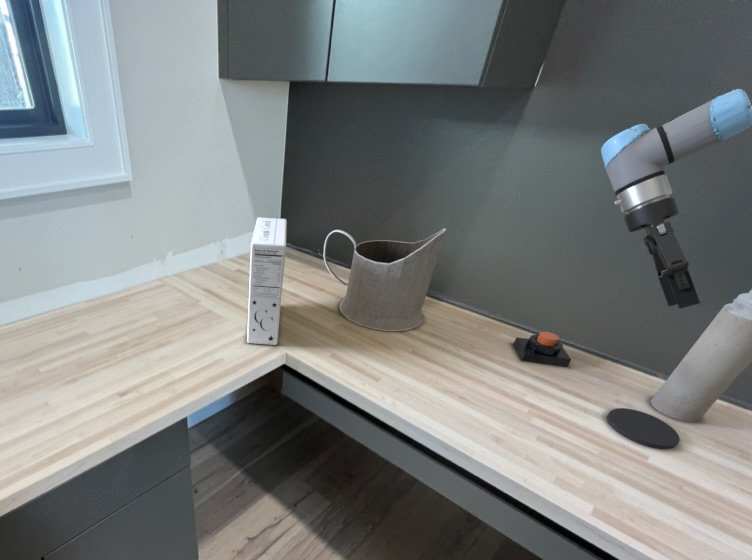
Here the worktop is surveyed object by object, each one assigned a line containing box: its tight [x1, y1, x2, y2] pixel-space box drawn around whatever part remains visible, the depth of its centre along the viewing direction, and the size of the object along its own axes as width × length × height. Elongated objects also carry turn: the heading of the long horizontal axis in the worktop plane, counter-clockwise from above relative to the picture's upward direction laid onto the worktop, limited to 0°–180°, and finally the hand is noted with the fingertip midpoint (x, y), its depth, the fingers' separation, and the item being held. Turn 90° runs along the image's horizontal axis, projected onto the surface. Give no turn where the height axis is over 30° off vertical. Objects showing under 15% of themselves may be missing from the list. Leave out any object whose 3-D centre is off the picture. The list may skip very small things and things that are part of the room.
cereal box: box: [246, 217, 288, 346], centre depth 106 cm, size 22×8×25 cm, turn 174°
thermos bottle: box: [650, 288, 752, 423], centre depth 79 cm, size 8×8×28 cm
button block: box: [512, 333, 572, 368], centre depth 103 cm, size 10×8×4 cm
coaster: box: [606, 407, 681, 450], centre depth 82 cm, size 11×11×1 cm
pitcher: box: [323, 228, 447, 332], centre depth 116 cm, size 23×32×25 cm
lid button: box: [536, 331, 560, 347], centre depth 101 cm, size 4×4×2 cm
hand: (683, 305), depth 84 cm, fingers open, 13 cm apart
